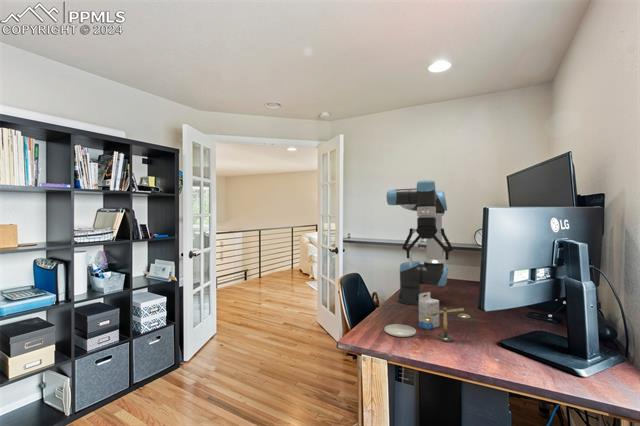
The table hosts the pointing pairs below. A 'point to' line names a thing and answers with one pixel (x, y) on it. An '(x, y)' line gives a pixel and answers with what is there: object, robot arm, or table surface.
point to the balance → (445, 322)
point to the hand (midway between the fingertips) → (427, 267)
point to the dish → (400, 330)
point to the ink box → (428, 305)
